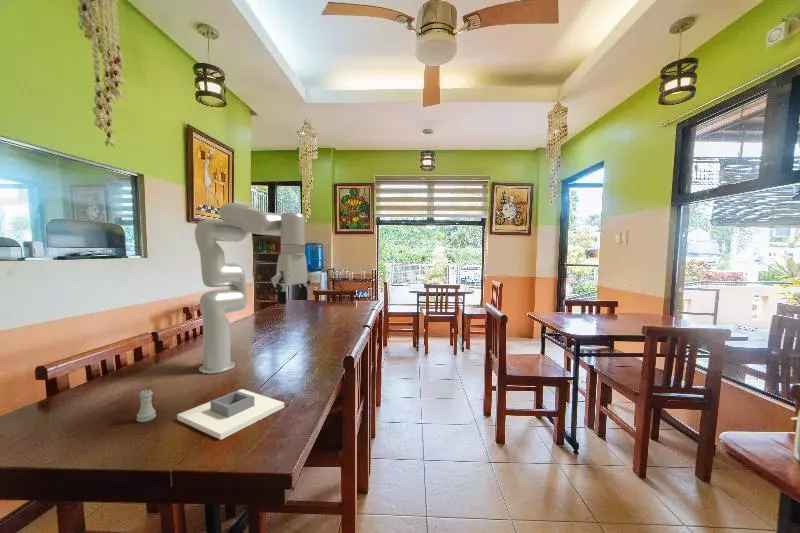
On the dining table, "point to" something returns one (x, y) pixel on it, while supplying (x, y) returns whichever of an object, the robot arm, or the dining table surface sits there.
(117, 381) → the dining table surface
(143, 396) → the rook chess piece
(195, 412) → the socket board
